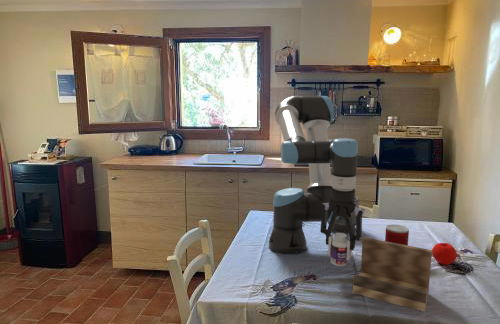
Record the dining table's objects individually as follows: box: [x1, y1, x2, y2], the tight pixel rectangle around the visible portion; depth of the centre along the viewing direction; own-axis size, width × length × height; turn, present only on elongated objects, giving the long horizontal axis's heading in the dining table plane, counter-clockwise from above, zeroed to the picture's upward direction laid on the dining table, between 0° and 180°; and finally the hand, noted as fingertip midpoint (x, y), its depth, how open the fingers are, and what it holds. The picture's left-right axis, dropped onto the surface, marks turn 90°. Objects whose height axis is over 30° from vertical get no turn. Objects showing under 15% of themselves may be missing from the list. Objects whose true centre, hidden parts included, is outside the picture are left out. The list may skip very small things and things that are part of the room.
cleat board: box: [352, 236, 433, 312], centre depth 107 cm, size 20×11×14 cm, turn 59°
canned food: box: [384, 224, 410, 246], centre depth 133 cm, size 8×8×11 cm
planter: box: [327, 195, 360, 233], centre depth 161 cm, size 14×14×15 cm
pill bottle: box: [330, 232, 348, 267], centre depth 115 cm, size 5×5×10 cm
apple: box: [431, 242, 458, 266], centre depth 127 cm, size 8×8×7 cm
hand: (339, 256), depth 116 cm, fingers closed on pill bottle, 5 cm apart
